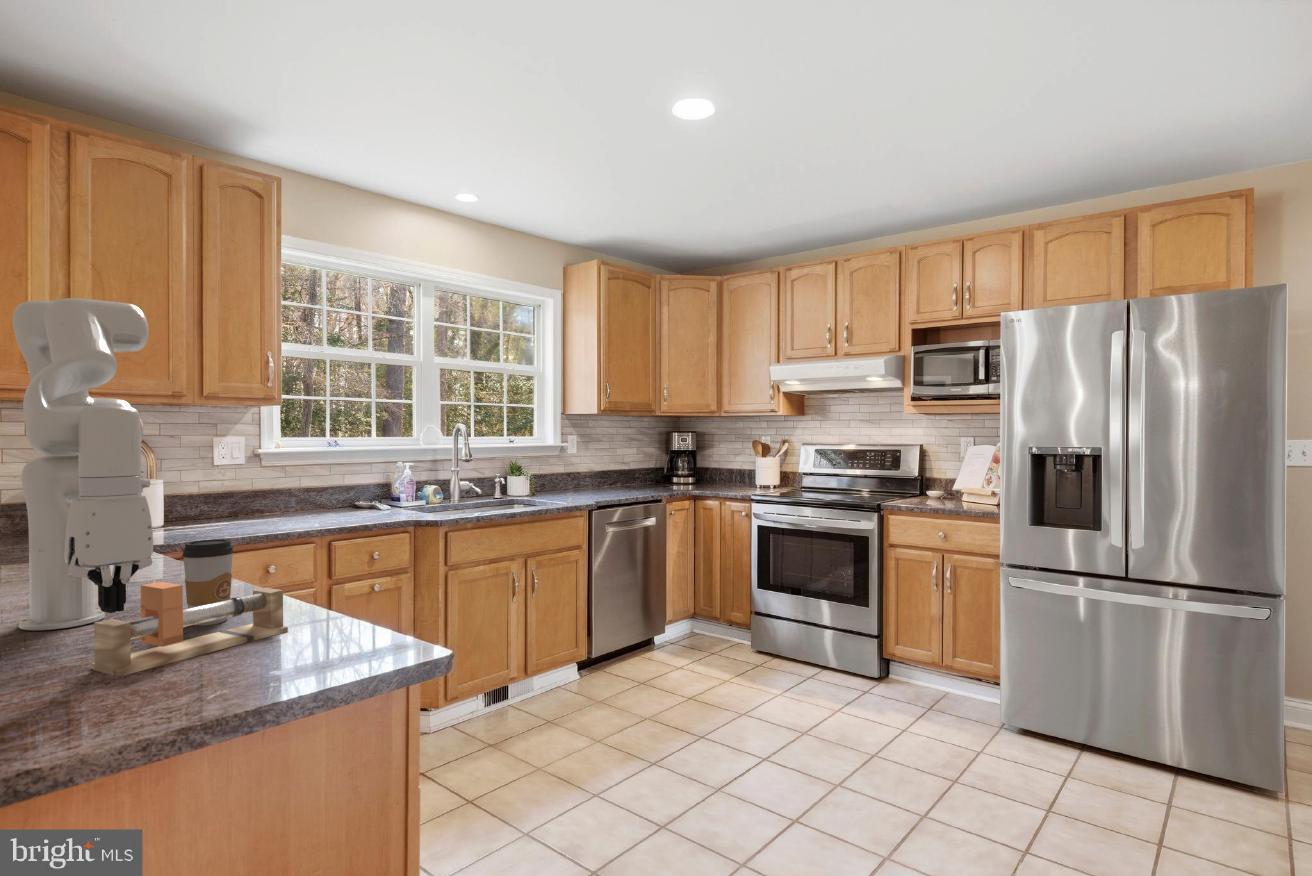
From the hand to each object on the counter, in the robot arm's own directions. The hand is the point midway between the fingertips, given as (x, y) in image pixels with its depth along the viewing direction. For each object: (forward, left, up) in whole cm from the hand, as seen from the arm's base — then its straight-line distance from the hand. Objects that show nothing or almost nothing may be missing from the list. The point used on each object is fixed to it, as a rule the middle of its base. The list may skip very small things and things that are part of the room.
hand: (112, 610), depth 109 cm
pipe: (0, +13, -5) cm, 14 cm away
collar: (0, +7, -6) cm, 10 cm away
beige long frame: (0, +13, -9) cm, 15 cm away
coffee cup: (-16, +24, -9) cm, 30 cm away
